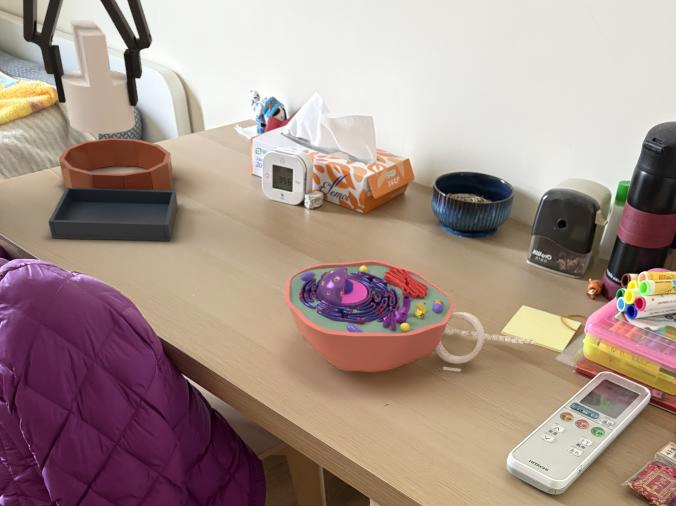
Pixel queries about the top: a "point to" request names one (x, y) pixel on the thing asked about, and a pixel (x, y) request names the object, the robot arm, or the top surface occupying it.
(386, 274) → the cell model
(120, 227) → the tray
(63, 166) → the terracotta bowl
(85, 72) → the base with upright slab
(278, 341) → the top surface
